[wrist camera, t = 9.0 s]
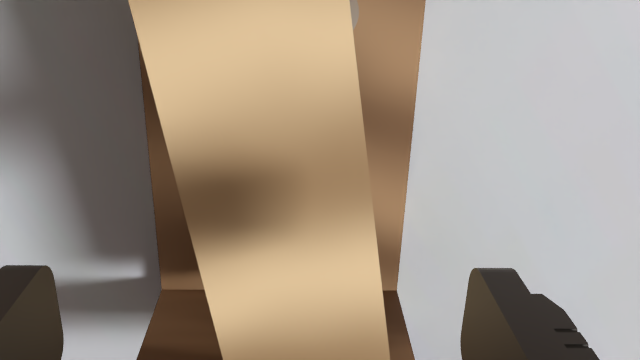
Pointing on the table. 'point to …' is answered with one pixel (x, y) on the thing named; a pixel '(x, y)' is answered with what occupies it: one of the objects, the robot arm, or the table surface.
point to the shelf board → (271, 171)
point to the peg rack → (384, 171)
